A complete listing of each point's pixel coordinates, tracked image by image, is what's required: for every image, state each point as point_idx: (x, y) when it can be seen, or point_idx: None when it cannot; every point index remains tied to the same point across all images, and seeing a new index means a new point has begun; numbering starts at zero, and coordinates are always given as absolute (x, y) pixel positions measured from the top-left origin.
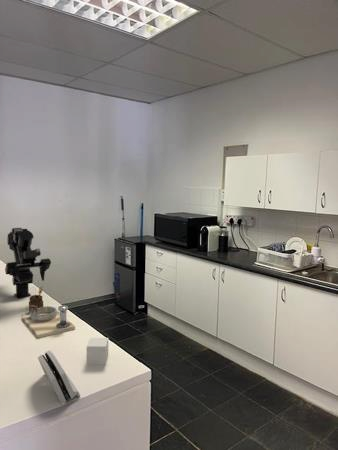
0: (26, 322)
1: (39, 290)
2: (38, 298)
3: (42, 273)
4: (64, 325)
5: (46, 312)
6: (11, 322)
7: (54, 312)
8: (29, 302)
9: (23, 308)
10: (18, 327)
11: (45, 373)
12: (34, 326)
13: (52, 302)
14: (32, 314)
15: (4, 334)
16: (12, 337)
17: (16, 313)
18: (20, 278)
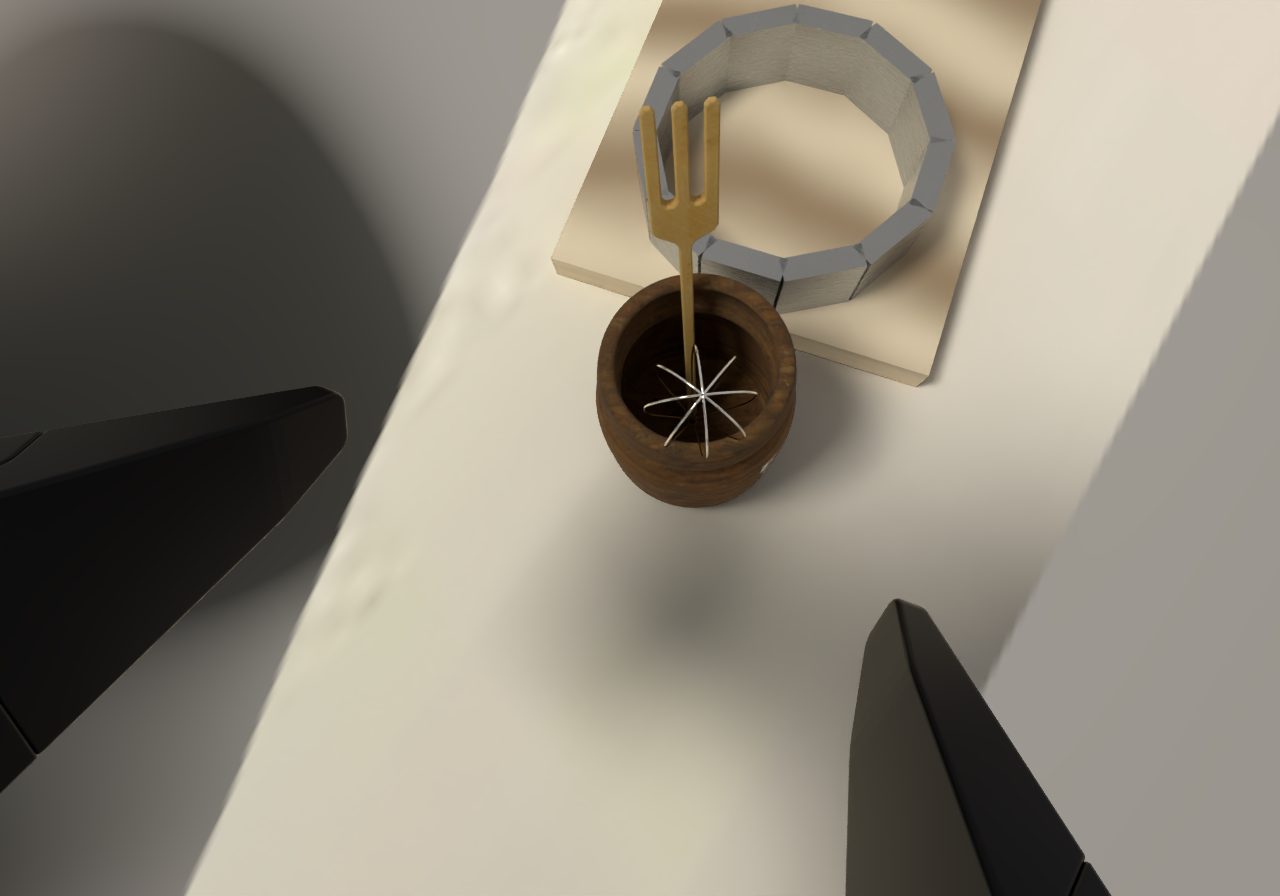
0: (976, 208)
1: (715, 166)
2: (714, 276)
3: (135, 453)
4: None
5: None
6: (1048, 388)
7: (736, 19)
8: (788, 415)
9: (706, 676)
10: (1061, 222)
11: None
12: (992, 47)
13: (353, 557)
14: (947, 131)
15: (1243, 181)
16: (1213, 76)
17: (863, 590)
18: (959, 713)
